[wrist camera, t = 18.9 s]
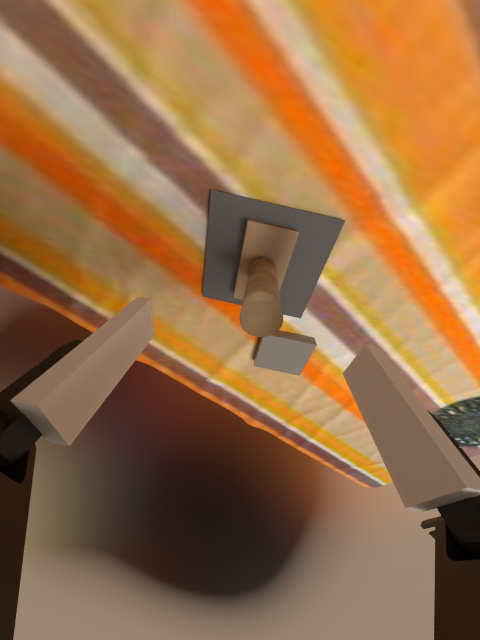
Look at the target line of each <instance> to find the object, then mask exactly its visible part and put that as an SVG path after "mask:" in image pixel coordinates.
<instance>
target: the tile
mask: <svg viewBox="0 0 480 640" xmlns="http://www.w3.org/2000/svg"><path fill="white" fill-rule="evenodd" d="M315 347H316V342H315V339H314V338H313V337H308V336H303V335H298V334H294V333H289V332H284V331H280V330H278V331H277V332H276V333H274V334H272V335H270V336H267V337H261V339H260V342H259V345H258V348H257V351H256V354H255V357H254V366H257V367H261V368H266V369H271V370H276V371H280V372H285V373H290V374H294V375H299V376H300V374H301V372H302V370H303V368H304V367H305V365H306V363H307V361H308V360H309V358H310V356H311V354H312V352H313V351H314V349H315Z"/></svg>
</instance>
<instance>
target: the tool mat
mask: <svg viewBox="0 0 480 640" xmlns="http://www.w3.org/2000/svg"><path fill="white" fill-rule="evenodd" d="M249 219H252V220H257V221H261V222H265V223H270V224H274V225H279V226H283V227H288V228H292V229H297V230H298V231H299V235H298V238H297V241H296V244H295V247H294V250H293V253H292V256H291V259H290V262H289V265H288V268H287V271H286V274H285V277H284V280H283V283H282V285H281V288H280V291H279V294H280V301H281V307H282V314H284V315H288V316H293V317H297V318H301V317H302V314H303V312H304V310H305V308H306V306H307V303H308V301H309V299H310V297H311V295H312V292H313V290H314V288H315V286H316V284H317V281H318V279H319V277H320V275H321V273H322V270H323V268H324V266H325V264H326V262H327V259H328V257H329V255H330V253H331V251H332V248H333V246H334V244H335V242H336V240H337V237H338V235H339V233H340V231H341V229H342V226H343V224H344V222H345V220H341V219H337V218H333V217H328V216H324V215H320V214H315V213H311V212H306V211H302V210H298V209H293V208H289V207H285V206H280V205H276V204H272V203H267V202H263V201H258V200H254V199H250V198H245V197H241V196H237V195H232V194H228V193H224V192H219V191H215V190H211V196H210V208H209V220H208V233H207V245H206V258H205V270H204V282H203V295H202V296H203V297H207V298H212V299H216V300H221V301H225V302H230V303H234V304H239V305H242V304H243V300H240V299H236V298H234V292H235V287H236V282H237V276H238V271H239V265H240V260H241V255H242V249H243V244H244V239H245V233H246V228H247V222H248V220H249Z"/></svg>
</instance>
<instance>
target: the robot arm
mask: <svg viewBox="0 0 480 640" xmlns="http://www.w3.org/2000/svg"><path fill="white" fill-rule="evenodd" d="M154 335H155V334H154V324H153V314H152V304H151V299H147V298H142V297H137V298H136V299H135V300H133V301H132V302H131V303H130V304H128V305H127V306H126V307H125V308H123V309H122V310H121V311H120V312H119V313H117V314H116V315H115V316H114V317H112V318H111V319H110V320H109V321H107V322H106V323H105V324H104V325H103V326H101V327H100V328H99V329H98V330H96V331H95V332H94V333H93V334H92V335H90V336H89V337H88V338H87V339H85V340H84V341H79V340H75V341H72V342H70V343H68V344H66V345H64V346H62V347H60V348H59V349H57V350H56V351H55V352H53V353H52V354H51V355H50V356H49V357H48V358H45V359H44V360H43V361H41V362H40V363H39V365H38V366H35V367H34V368H32V369H31V370H30V371H28V372H27V373H25V374H24V375H23V376H22V377H20V378H19V379H17V380H16V381H15V382H13V383H12V384H11V385H9V386H8V387H7V388H5V389H4V390H3V391H2V392H0V640H13V636H14V628H15V619H16V612H17V603H18V595H19V587H20V578H21V569H22V561H23V553H24V545H25V537H26V529H27V521H28V512H29V504H30V496H31V488H32V479H33V470H34V463H35V455H36V446H35V442H36V441H37V440H38V439H39V438H40V436H42V435H43V437H44V438H45V439H46V440H47V441H48V442H51V443H56V444H62V445H67V446H69V445H71V443H72V442H73V441H74V439H75V438H76V436H77V435H78V434H79V433H80V432H81V430H82V429H83V428H84V426H85V425H86V424H87V422H88V421H89V420H90V418H91V417H92V416H93V415H94V413H95V412H96V411H97V409H98V408H99V407H100V405H101V404H102V403H103V401H104V400H105V399H106V398H107V396H108V395H109V394H110V392H111V391H112V390H113V389H114V387H115V386H116V385H117V383H118V382H119V381H120V379H121V378H122V377H123V376H124V374H125V373H126V372H127V370H128V369H129V368H130V366H131V365H132V364H133V363H134V361H135V360H136V359H137V357H138V356H139V355H140V353H141V352H142V351H143V349H144V348H145V347H146V346H147V344H148V343H149V342H150V340H151V339H152V338H153V336H154ZM343 375H344V377H345V379H346V382H347V384H348V386H349V388H350V390H351V392H352V394H353V397H354V399H355V401H356V403H357V405H358V407H359V410H360V412H361V414H362V416H363V418H364V420H365V422H366V425H367V427H368V429H369V431H370V433H371V435H372V437H373V440H374V442H375V444H376V446H377V448H378V450H379V452H380V455H381V457H382V459H383V461H384V463H385V465H386V467H387V470H388V472H389V474H390V476H391V478H392V480H393V482H394V484H395V486H396V489H397V491H398V493H399V495H400V497H401V500H402V502H403V504H404V506H405V508H407V509H412V510H418V511H423V512H425V511H428V510H431V509H435V508H437V509H438V511H439V512H440V514H441V516H440V517H436V518H432V519H428V520H425V521H422V523H421V527H422V528H423V529H426V528H430V527H435V530H433V531H431V532H429V534H430V535H431V536H432V537H433V538H434V539H435V615H434V619H435V620H434V640H480V471H479V470H478V468H477V467H476V466H475V465H474V464H473V462H472V461H471V460H470V458H469V457H468V456H467V455H466V453H465V452H464V451H463V450H462V448H459V445H458V443H457V442H456V441H455V440H454V438H453V437H451V436H450V433H449V432H448V431H447V430H446V428H445V427H444V426H443V425H442V423H441V422H440V421H439V420H438V419H437V418H436V417H434V416H433V415H432V414H431V413H430V412H429V411H428V410H426V408H425V407H424V406H423V405H422V403H421V402H420V401H419V399H418V398H417V397H416V396H415V394H414V393H413V392H412V390H411V389H410V388H409V387H408V385H407V384H406V383H405V381H404V380H403V379H402V378H401V376H400V375H399V374H398V373H397V371H396V370H395V369H394V367H393V366H392V365H391V364H390V362H389V361H388V360H387V358H386V357H385V356H384V355H383V353H382V352H381V351H380V349H379V348H378V347H375V346H371V345H366V344H365V346H364V347H363V348H362V349H361V351H360V352H359V353H358V355H357V356H356V357H355V358H354V360H353V361H352V362H351V364H350V365H349V366H348V368H347V369H346V370H345V371H344V373H343Z"/></svg>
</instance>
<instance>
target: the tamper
mask: <svg viewBox="0 0 480 640" xmlns="http://www.w3.org/2000/svg"><path fill="white" fill-rule="evenodd" d="M298 235H299V231H298V230H297V229H292V228H288V227H283V226H279V225H274V224H270V223H265V222H261V221H257V220H252V219H249V220H248V222H247V228H246V233H245V239H244V244H243V249H242V255H241V260H240V265H239V271H238V276H237V282H236V287H235V292H234V298H236V299H240V300H243V304H242V308H241V313H240V324H241V326H242V328H243V329H244V330H245V331H246V332H247V333H249V334H251V335H253V336H257V337H267V336H270V335H272V334H274V333H276V332H277V331H278V330H279V329H280V328H281V326H282V323H283V314H282V307H281V301H280V294H279V291H280V288H281V285H282V283H283V280H284V277H285V274H286V271H287V268H288V265H289V262H290V259H291V256H292V253H293V250H294V247H295V244H296V241H297V238H298Z"/></svg>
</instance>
